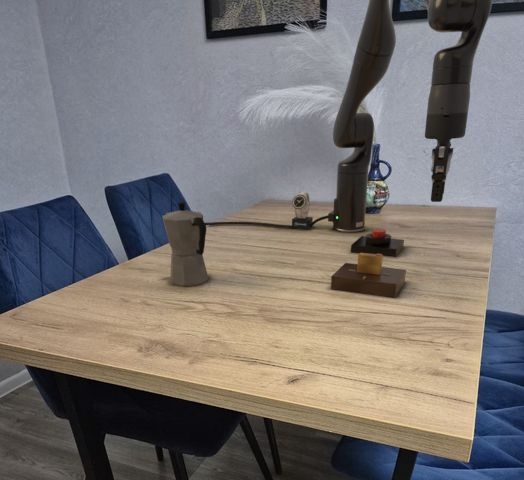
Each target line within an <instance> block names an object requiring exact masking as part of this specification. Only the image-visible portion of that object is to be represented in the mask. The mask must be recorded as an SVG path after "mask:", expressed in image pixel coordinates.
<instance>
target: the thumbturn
mask: <svg viewBox="0 0 524 480" xmlns="http://www.w3.org/2000/svg"><path fill="white" fill-rule="evenodd" d="M357 254H358V255H357V264H358V267H357V272H360V273H368V274H377V275H380V274H381V271H382V267H383V260H384V259H383V258H384V256H383V255H382V254H378V253H377V254H369V253H357Z"/></svg>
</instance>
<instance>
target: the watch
mask: <svg viewBox="0 0 524 480" xmlns="http://www.w3.org/2000/svg"><path fill="white" fill-rule="evenodd" d="M309 194H310V193H308V192H301V191H300V192H298V193H297V194H296V195H295V196H294V197H293V198H292V200H291V205H292V210H293V212H294V215H295V216H294V217H293V218H292V219H291V225H292V226H294V227H295V228H291V229H292V230H305V231H308V230H310V229H312V228H313V226H311V227H310V224H311V223H312V222H313V221H314V220H313V219H314V218H313V216H308V215H309V212H310V204H311V203H310V195H309Z"/></svg>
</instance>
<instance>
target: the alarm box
mask: <svg viewBox="0 0 524 480" xmlns="http://www.w3.org/2000/svg"><path fill="white" fill-rule="evenodd" d="M404 244H405V239H401V238H392V235H391V234H390V233H386V236H385V237H383V238H376V237H372V232H370V233H367V234H366V235H361V236H360V237H359V238H357V239H356V240H355V241H354V242H352V244H351V245H350V253H353V254H360V253H369V254H377V253H378V254H382V255H383V257H391V258H396V257H397V256H398V255H399V253H400V252H401V251H402V250H403V249H404V247H405V246H404Z"/></svg>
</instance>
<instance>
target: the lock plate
mask: <svg viewBox="0 0 524 480" xmlns="http://www.w3.org/2000/svg"><path fill="white" fill-rule="evenodd" d="M357 267H358V263H350V262H345V263H343V265H341V266H340V267H339V268H338V269H337V270H336V271H334V272H333V274H332V275H331V276H330V277H331V279H330V289H331V290H337V291H344V292H352V293H360V294H366V295H374V296H379V297H388V298H396V297H397V295H398V294H399V292H400V290H401V289H402V287H403V286H404V284H405V282H406V274H407V269H404V268H403V269H402V268H393V267H385V266H382V271H381V274H380V275H377V274H368V273H360V272H357Z"/></svg>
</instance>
